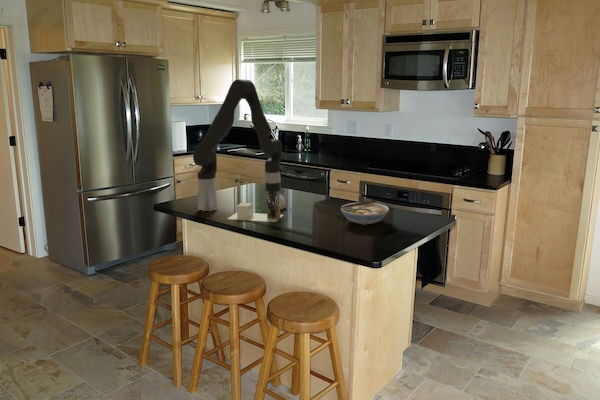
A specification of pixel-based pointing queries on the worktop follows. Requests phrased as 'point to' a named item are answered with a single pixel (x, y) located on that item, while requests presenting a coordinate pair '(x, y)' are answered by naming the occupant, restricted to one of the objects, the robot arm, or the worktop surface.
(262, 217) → the white tray with block
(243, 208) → the cube
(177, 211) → the worktop surface
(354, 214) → the ramen bowl
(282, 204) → the die
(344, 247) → the worktop surface
